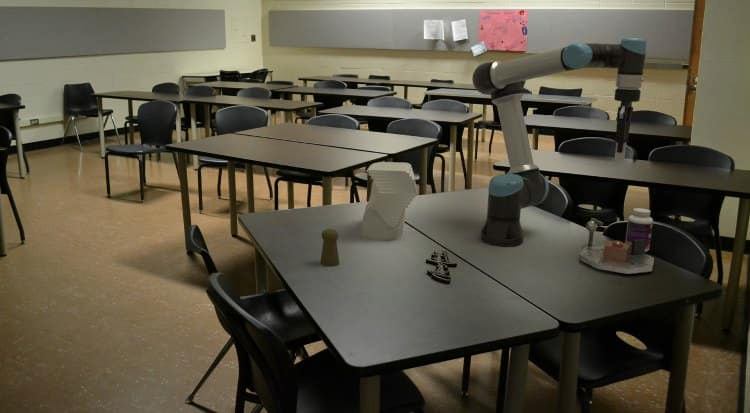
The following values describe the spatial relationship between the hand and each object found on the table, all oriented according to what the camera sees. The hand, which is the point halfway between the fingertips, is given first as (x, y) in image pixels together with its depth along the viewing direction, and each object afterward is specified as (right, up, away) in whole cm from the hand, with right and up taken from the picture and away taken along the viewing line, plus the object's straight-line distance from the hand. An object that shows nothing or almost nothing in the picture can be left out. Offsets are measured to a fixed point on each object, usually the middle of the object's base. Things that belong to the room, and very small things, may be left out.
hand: (619, 162), depth 204 cm
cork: (-94, -33, -5) cm, 99 cm away
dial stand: (-4, -30, +14) cm, 33 cm away
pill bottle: (+12, -30, +16) cm, 36 cm away
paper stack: (-73, -24, +28) cm, 82 cm away
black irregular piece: (-58, -34, -7) cm, 68 cm away
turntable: (-1, -33, +1) cm, 33 cm away
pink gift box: (-1, -31, 0) cm, 31 cm away
